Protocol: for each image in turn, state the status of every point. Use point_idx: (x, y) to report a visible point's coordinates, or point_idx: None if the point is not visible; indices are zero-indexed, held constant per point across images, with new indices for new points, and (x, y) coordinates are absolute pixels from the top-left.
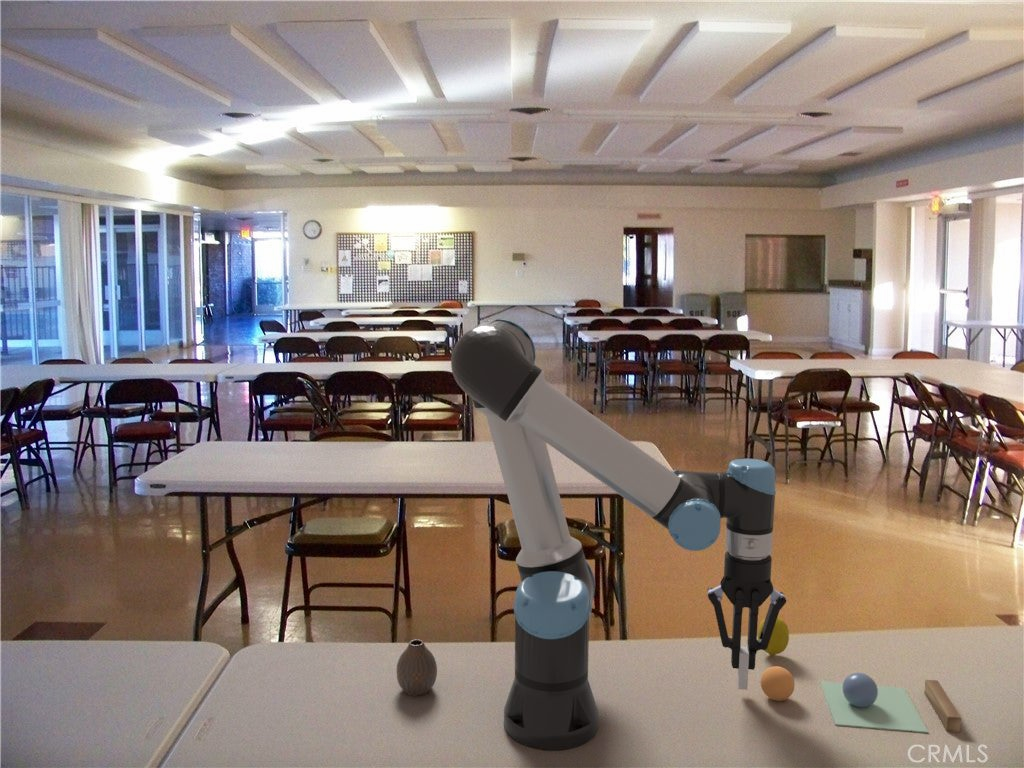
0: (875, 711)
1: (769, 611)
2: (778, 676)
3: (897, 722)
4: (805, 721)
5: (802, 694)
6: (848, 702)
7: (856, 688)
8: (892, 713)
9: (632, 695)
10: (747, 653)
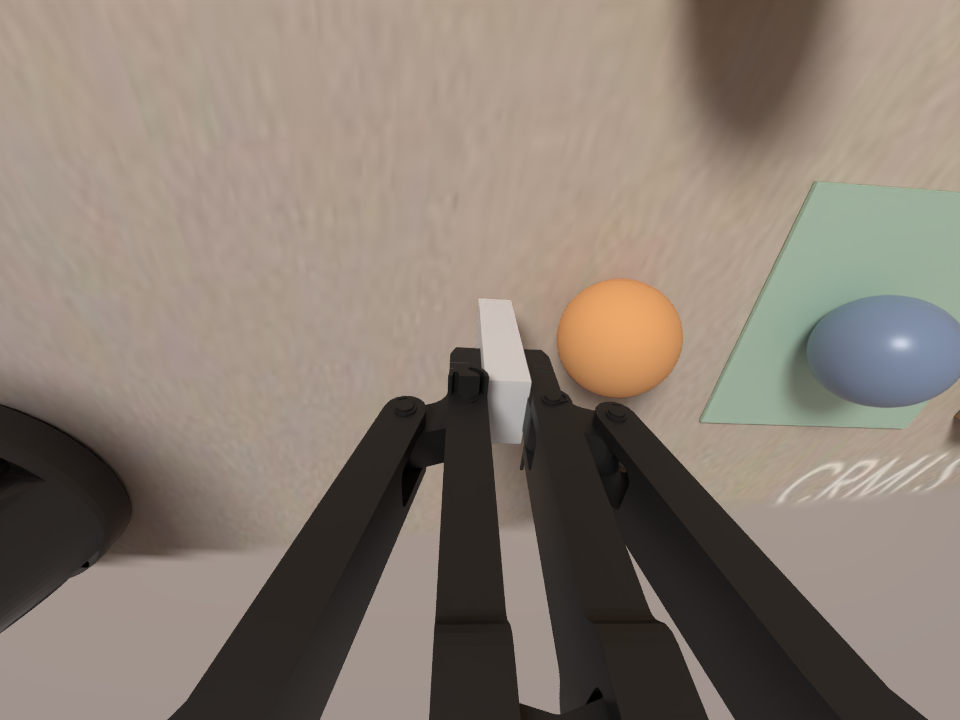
0: None
1: (741, 668)
2: (619, 395)
3: None
4: None
5: (696, 278)
6: (812, 321)
7: (856, 402)
8: None
9: (139, 340)
10: (514, 441)
